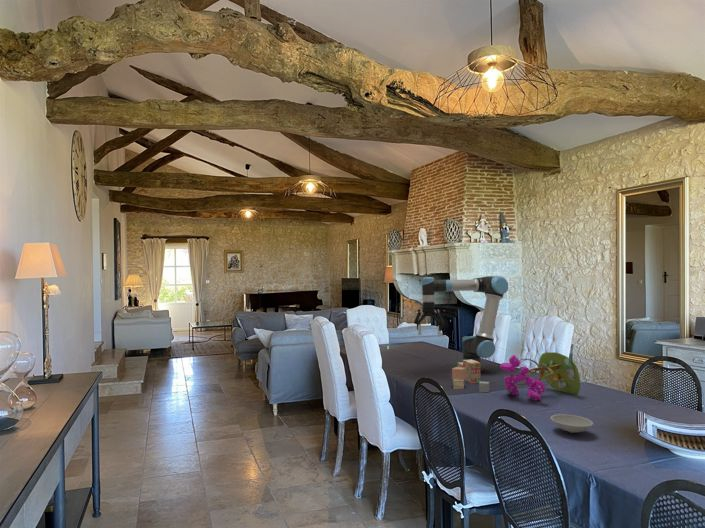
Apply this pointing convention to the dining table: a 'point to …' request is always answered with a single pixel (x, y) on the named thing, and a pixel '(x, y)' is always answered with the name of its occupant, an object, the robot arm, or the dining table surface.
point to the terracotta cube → (459, 373)
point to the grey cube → (484, 386)
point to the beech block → (458, 384)
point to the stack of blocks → (471, 370)
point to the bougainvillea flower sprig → (544, 375)
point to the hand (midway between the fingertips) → (429, 335)
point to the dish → (571, 422)
